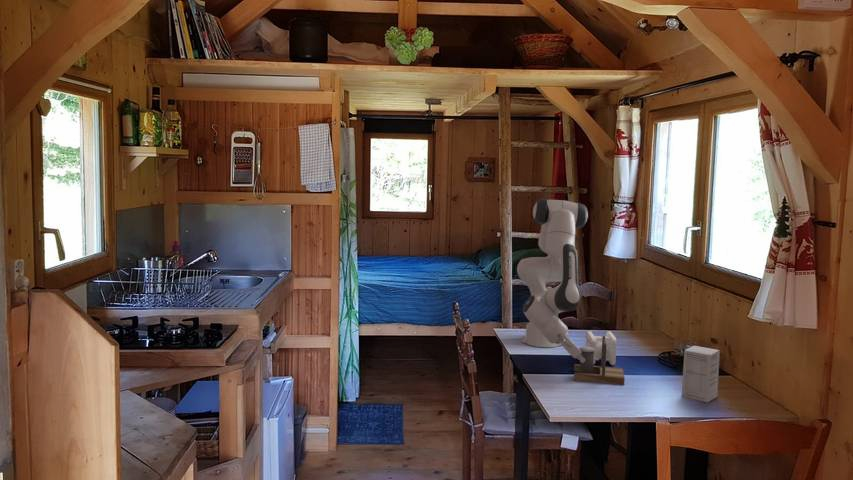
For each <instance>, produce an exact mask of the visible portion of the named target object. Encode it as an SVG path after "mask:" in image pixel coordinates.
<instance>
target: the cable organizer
mask: <svg viewBox="0 0 853 480" xmlns="http://www.w3.org/2000/svg"><path fill="white" fill-rule="evenodd" d="M602 338H603V336H598V335H597V336H596V335H594V333H593V332H592V330H590V331H589V330H588V331H587V330H586V332H585V345H584V347H592V348H595V352H594V363H593V365H596V361H597V362H598V363H599V362H600V361H599V360H601V356H602ZM605 341H606V344H607V346H606V362H607V361H608V362H609V364H610V366H614V365H616V361H617V360H616V358H617V337H616V336H615V335H614V334H613V333H612V331H606V333H605Z"/></svg>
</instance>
